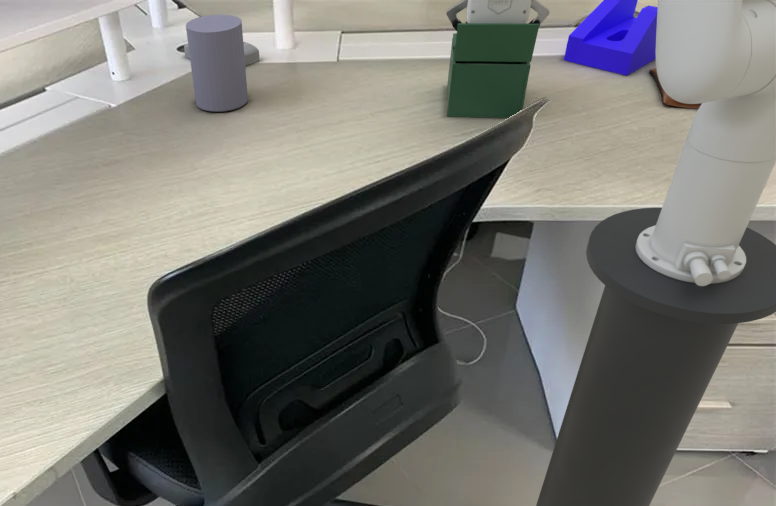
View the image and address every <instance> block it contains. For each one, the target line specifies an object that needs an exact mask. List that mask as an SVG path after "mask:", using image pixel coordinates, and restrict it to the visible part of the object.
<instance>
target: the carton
mask: <svg viewBox="0 0 776 506" xmlns="http://www.w3.org/2000/svg"><path fill="white" fill-rule="evenodd" d="M456 35H457V32H456V33H454V32H453V33H452V37H451V38H452V39H451V47H450V57H449V65H448V76H447V85H446V117H448V118H449V117H450V118H451V117H452V118H484V119H485V118H489V119H493V118H494V119H509V118H508V117H510V116H512V115H514V114H516V113H517V112H519V111H520V110H522V109H524V104H525V100H526V93H527V88H528V87H527V86H528V83H529V82H528V81H529V76H530V71H531V62H491V61H466V62H463V61H453V59H454V51H455V43H456ZM522 111H523V110H522Z"/></svg>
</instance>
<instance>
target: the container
mask: <svg viewBox="0 0 776 506" xmlns="http://www.w3.org/2000/svg"><path fill="white" fill-rule="evenodd" d="M185 30H186V37H187V44H188V47H189V54H190V59H189V60H190V68H191V76H192V83H193V91H194V99H195V100H194V101H195V105H196V106H197V107H198V108H199V109H201V110H202V111H205V112H210V113H225V112H226V113H227V112H231V111H235V110H238V109H240V108H241V107H243V106H245V104H247V102H248V100H249V95H248V83H247V70H246V66H245V57H244V45H243V42H244V34H243V32H244V31H243V21H242V18H240V17H238V16H235V15H232V14H209V15H202V16H198V17H195V18H193V19H191V20H188V22H186V23H185Z"/></svg>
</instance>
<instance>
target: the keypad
mask: <svg viewBox="0 0 776 506" xmlns="http://www.w3.org/2000/svg"><path fill="white" fill-rule="evenodd" d="M243 45H244V57H245V67H246V66H249V65H251V64H255V63H257V62H260V60H261V59H260V58H261V57H260V50H259V48H258V47H257V46H255V45H253V44H251V43H249V42H246V41H243ZM183 50H184V57H185V58H186V59H189V60H190V54H189V47H188V43H186V44H184V45H183Z"/></svg>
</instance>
